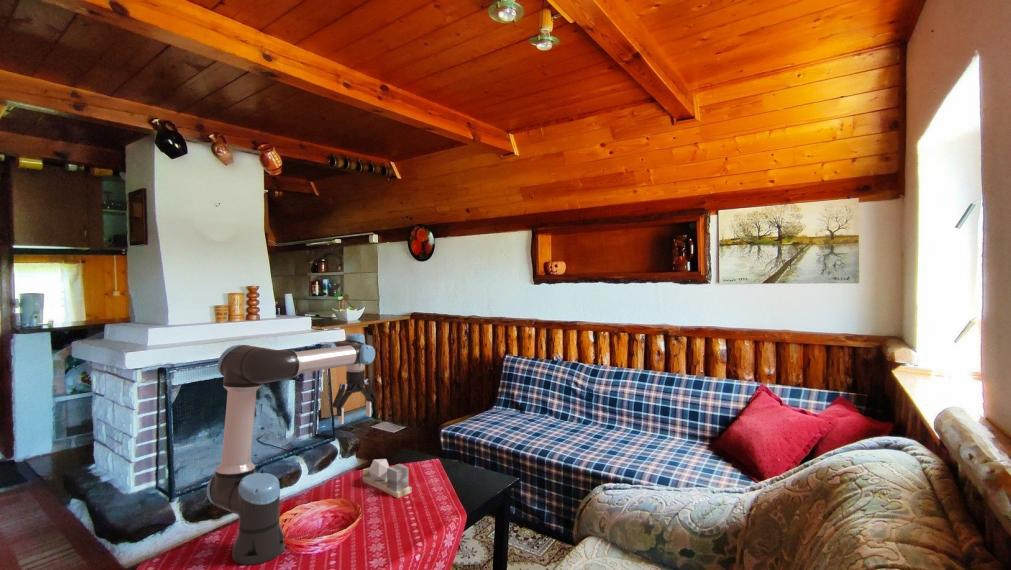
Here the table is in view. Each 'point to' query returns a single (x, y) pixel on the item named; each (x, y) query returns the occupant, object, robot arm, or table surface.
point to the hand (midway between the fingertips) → (355, 419)
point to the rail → (384, 488)
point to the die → (379, 469)
